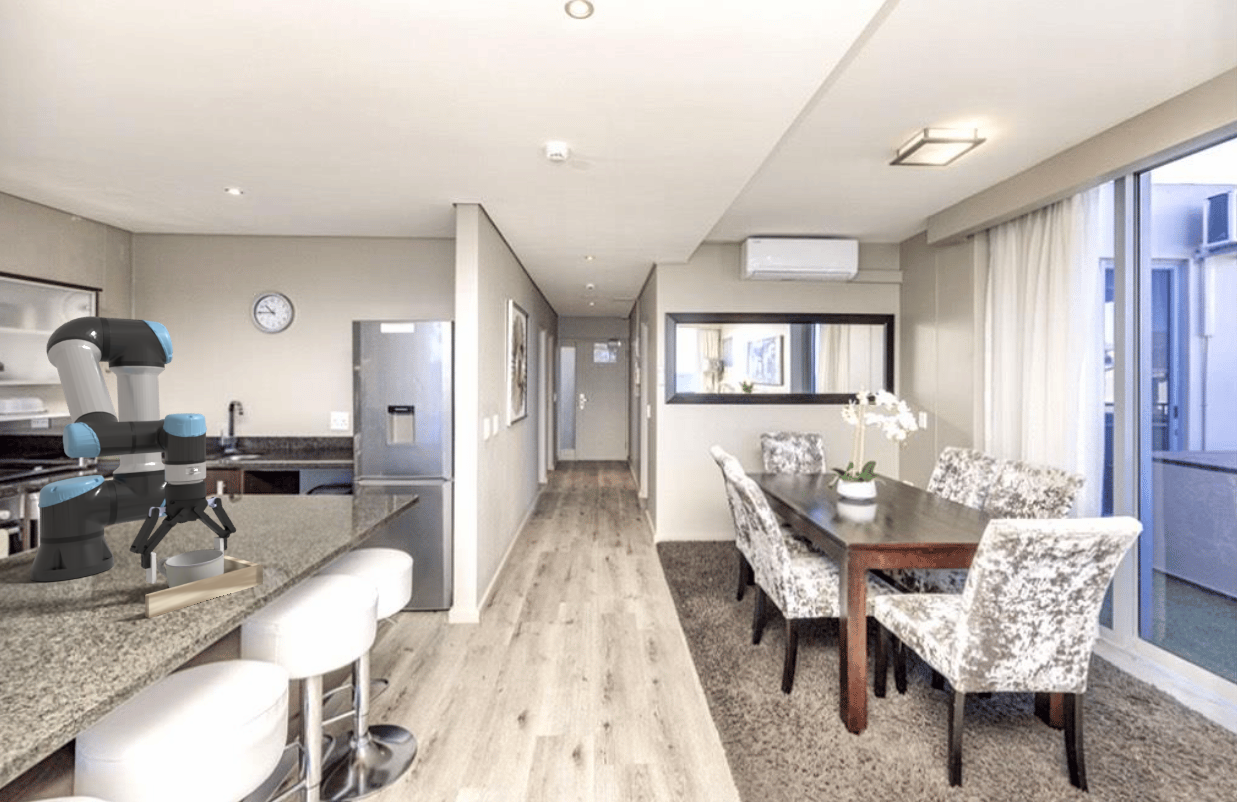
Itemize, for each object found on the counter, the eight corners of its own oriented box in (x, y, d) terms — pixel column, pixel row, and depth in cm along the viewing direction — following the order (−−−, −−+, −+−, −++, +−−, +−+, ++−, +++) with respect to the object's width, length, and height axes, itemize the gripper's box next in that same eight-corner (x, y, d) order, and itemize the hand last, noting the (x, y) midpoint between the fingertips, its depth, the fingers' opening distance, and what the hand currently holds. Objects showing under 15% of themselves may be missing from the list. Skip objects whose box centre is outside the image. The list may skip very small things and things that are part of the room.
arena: (104, 600, 124) (104, 579, 123) (217, 570, 143) (217, 553, 143) (149, 618, 114) (148, 596, 114) (262, 583, 134) (262, 565, 134)
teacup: (235, 584, 134) (235, 550, 134) (193, 601, 124) (192, 564, 123) (187, 579, 137) (187, 546, 137) (141, 595, 126) (140, 560, 126)
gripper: (126, 492, 116) (127, 593, 117) (252, 475, 138) (252, 560, 139) (109, 488, 120) (110, 586, 121) (234, 472, 142) (235, 555, 143)
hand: (186, 573), depth 130 cm, fingers open, 13 cm apart
